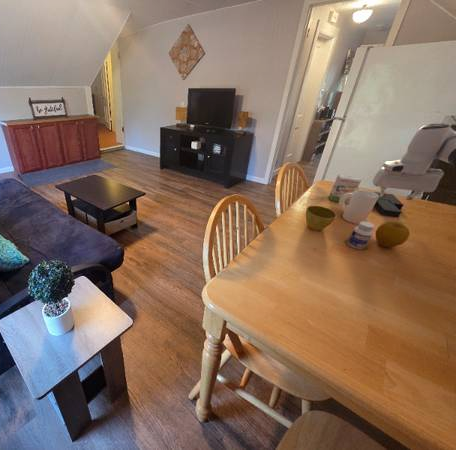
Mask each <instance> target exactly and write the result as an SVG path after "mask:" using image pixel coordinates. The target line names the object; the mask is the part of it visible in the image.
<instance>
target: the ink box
mask: <svg viewBox="0 0 456 450" xmlns="http://www.w3.org/2000/svg"><path fill="white" fill-rule="evenodd" d="M361 181H362V179H361V178H360V177H359V176H356V175H355V176H354V175H347V174H340V173H339V174H338V175H337V176H336V178H335V181H334V183H333V185H332V188H331V191H330V193H329V194H328V198H329V201H333V202H339V200H340V198H341V197H342V196H343V195H345V194H347V193H354V191H355V190H358V188H359V187H360V184H361ZM350 199H351V197H349V198H347V199H346V200H345V204H349V202H350Z"/></svg>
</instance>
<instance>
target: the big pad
mask: <svg viewBox="0 0 456 450" xmlns="http://www.w3.org/2000/svg"><path fill="white" fill-rule="evenodd" d="M373 192H374V193H376V194H378V195H379V198H378V199H382V200H388V201H389V202H390V203H393V204H394V205H395V206H396V207H397V208H398V209H399V210H402V208H403V207H404V204H403V203H402V201H400V199H398V198H397V196H396V195H394V194H393V193H387V194H386V196H385V197H381V196H380V193H381V192H377V191H373ZM376 202H377V201H376ZM375 204H376V203H375ZM374 207H375V205H374Z"/></svg>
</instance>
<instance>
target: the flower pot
mask: <svg viewBox="0 0 456 450" xmlns="http://www.w3.org/2000/svg"><path fill="white" fill-rule="evenodd" d="M306 207H307V208H306V210H305V211H306V212H305V219H306V220H305V221H306V226H307V227H308V228H309V229H311V230H313V231H322V230H324V229H325V228H327V227H329V226H330V225H331V224H332V223H333V222H334V220H335V219H336V218H337V216H338V215H337V213H336V212H335V211H334V210H333V209H330V208H328V207H325V206H320V205H309V206H306Z"/></svg>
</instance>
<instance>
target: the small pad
mask: <svg viewBox="0 0 456 450" xmlns="http://www.w3.org/2000/svg"><path fill="white" fill-rule="evenodd" d="M374 207H375V208H376V210H377V211H378V213H380V215H382V216H388V217H394V218H399V217H400V215H401V214H402V211H401V209H398V208H397V207H396V206H395V205H394V204H393V203H390V202H389V201H388V200H382V199H377V202H376V204H375V206H374Z"/></svg>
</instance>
